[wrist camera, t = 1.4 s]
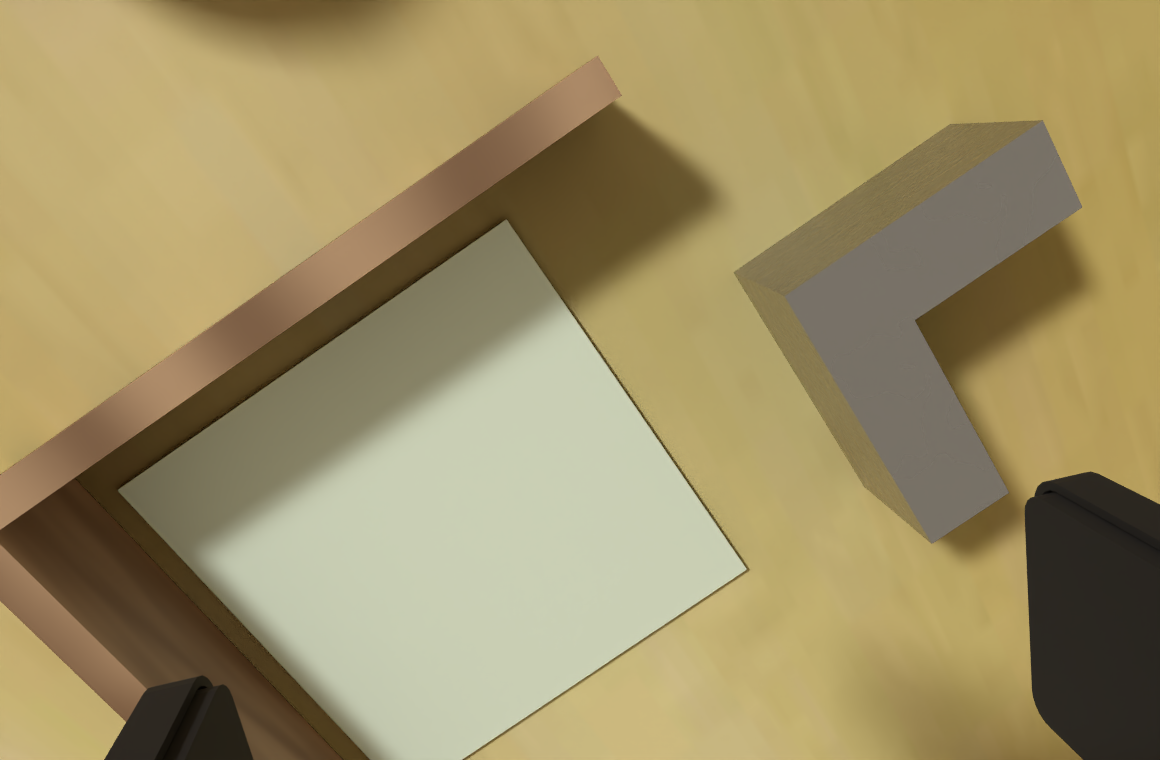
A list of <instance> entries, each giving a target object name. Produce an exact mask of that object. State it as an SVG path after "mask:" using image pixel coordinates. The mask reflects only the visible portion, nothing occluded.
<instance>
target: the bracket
mask: <svg viewBox="0 0 1160 760" xmlns="http://www.w3.org/2000/svg"><path fill="white" fill-rule="evenodd" d="M1080 208H1082V205H1081V203H1080V201H1079V199H1078V197H1077V194H1076V192H1075V190H1074V188H1073V186H1072V183H1071V181H1070V179H1069V177H1068V175H1067V173H1066V170H1065V168H1064V166H1063V164H1062V162H1061V159H1060V157H1059V155H1058V153H1057V151H1056V149H1055V146H1054V144H1053V142H1052V140H1051V138H1050V135H1049V133H1048V131H1047V129H1046V127H1045V124H1044V122H1043V120H1041V121H1018V122H994V123H971V124H950V125H949V126H947V127H946V128H944V129H943V130H941V131H940V132H938V133H937V134H935V135H934V136H932V137H931V138H930V139H928V140H927V141H925V142H924V143H922V144H921V145H919V146H918V147H916V148H915V149H913V150H912V151H911V152H909V153H908V154H906V155H905V156H903V157H902V158H900V159H899V160H897V161H896V162H894V163H893V164H892V165H890V166H889V167H887V168H886V169H884V170H883V171H881V172H880V173H878V174H877V175H875V176H874V177H873V178H871V179H870V180H868V181H867V182H865V183H864V184H862V185H861V186H859V187H858V188H856V189H855V190H854V191H852V192H851V193H849V194H848V195H846V196H845V197H843V198H842V199H840V200H839V201H837V202H836V203H835V204H833V205H832V206H830V207H829V208H827V209H826V210H824V211H823V212H821V213H820V214H818V215H817V216H816V217H814V218H813V219H811V220H810V221H808V222H807V223H805V224H804V225H802V226H801V227H799V228H798V229H797V230H795V231H794V232H792V233H791V234H789V235H788V236H786V237H785V238H783V239H782V240H780V241H779V242H778V243H776V244H775V245H773V246H772V247H770V248H769V249H767V250H766V251H764V252H763V253H761V254H760V255H759V256H757V257H756V258H754V259H753V260H751V261H750V262H748V263H747V264H745V265H744V266H743V267H741V268H740V269H738V270H737V271H735V272H734V274H735V275H736V277H737V279H738V280H739V282H740V284H741V285H742V287H743V289H744V290H745V292H746V293H747V295H748V297H749V298H750V300H751V302H752V303H753V305H754V307H755V308H756V310H757V312H758V313H759V315H760V316H761V318H762V320H763V321H764V323H765V325H766V326H767V328H768V330H769V331H770V333H771V334H772V336H773V338H774V339H775V341H776V343H777V344H778V346H779V348H780V349H781V351H782V353H783V354H784V356H785V357H786V359H787V361H788V362H789V364H790V366H791V367H792V369H793V371H794V372H795V374H796V375H797V377H798V379H799V380H800V382H801V384H802V385H803V387H804V389H805V390H806V392H807V394H808V395H809V397H810V398H811V400H812V402H813V403H814V405H815V407H816V408H817V410H818V412H819V413H820V415H821V416H822V418H823V420H824V421H825V423H826V425H827V426H828V428H829V430H830V431H831V433H832V435H833V436H834V438H835V439H836V441H837V443H838V444H839V446H840V448H841V449H842V451H843V453H844V454H845V456H846V457H847V459H848V461H849V462H850V464H851V466H852V467H853V469H854V471H855V472H856V474H857V475H858V477H859V479H860V480H861V482H862V484H863V485H864V487H865V488H867V489H868V490H869V491H870V492H871V493H872V494H874V495H875V496H876V497H877V498H878V499H880V500H881V501H882V502H883V503H884V504H885V505H887V506H888V507H889V508H890V509H891V510H893V511H894V512H895V513H896V514H897V515H898V516H900V517H901V518H902V519H903V520H904V521H905V522H907V523H908V524H909V525H910V526H911V527H913V528H914V529H915V530H916V531H917V532H918V533H920V534H921V535H922V536H923V537H924V538H926V539H927V540H928V541H929V542H930V543H931V544H932V543H934V542H935V541H937V540H938V539H940V538H941V537H943V536H944V535H946V534H947V533H949V532H950V531H952V530H953V529H955V528H956V527H958V526H959V525H961V524H962V523H964V522H966V521H967V520H969V519H970V518H972V517H973V516H975V515H976V514H978V513H979V512H981V511H982V510H984V509H985V508H987V507H988V506H990V505H991V504H993V503H994V502H996V501H997V500H999V499H1000V498H1002V497H1003V496H1005V495H1006V494H1008V493H1009V492H1008V490H1007V488H1006V486H1005V484H1004V483H1003V481H1002V479H1001V477H1000V475H999V473H998V472H997V470H996V468H995V466H994V464H993V462H992V461H991V459H990V457H989V455H988V453H987V451H986V450H985V448H984V446H983V444H982V442H981V440H980V439H979V437H978V435H977V433H976V431H975V430H974V428H973V426H972V424H971V422H970V420H969V419H968V417H967V415H966V413H965V411H964V409H963V408H962V406H961V404H960V402H959V400H958V398H957V397H956V395H955V393H954V391H953V389H952V388H951V386H950V384H949V382H948V380H947V378H946V377H945V375H944V373H943V371H942V369H941V367H940V366H939V364H938V362H937V360H936V358H935V356H934V355H933V353H932V351H931V349H930V347H929V346H928V344H927V342H926V340H925V338H924V336H923V335H922V333H921V331H920V329H919V327H918V325H917V324H916V322H915V320H916V319H917V318H919V317H920V316H922V315H923V314H925V313H926V312H928V311H929V310H931V309H932V308H934V307H935V306H937V305H938V304H940V303H941V302H943V301H944V300H946V299H947V298H949V297H950V296H952V295H953V294H954V293H956V292H957V291H959V290H960V289H962V288H963V287H965V286H966V285H968V284H969V283H971V282H972V281H974V280H975V279H977V278H978V277H980V276H981V275H983V274H984V273H986V272H987V271H989V270H990V269H992V268H993V267H995V266H996V265H997V264H999V263H1000V262H1002V261H1003V260H1005V259H1006V258H1008V257H1009V256H1011V255H1012V254H1014V253H1015V252H1017V251H1018V250H1020V249H1021V248H1023V247H1024V246H1026V245H1027V244H1029V243H1030V242H1032V241H1033V240H1035V239H1036V238H1037V237H1039V236H1040V235H1042V234H1043V233H1045V232H1046V231H1048V230H1049V229H1051V228H1052V227H1054V226H1055V225H1057V224H1058V223H1060V222H1061V221H1063V220H1064V219H1066V218H1067V217H1069V216H1070V215H1072V214H1073V213H1075V212H1076V211H1077V210H1079V209H1080Z"/></svg>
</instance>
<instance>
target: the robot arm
mask: <svg viewBox="0 0 1160 760" xmlns="http://www.w3.org/2000/svg"><path fill="white" fill-rule="evenodd" d="M1025 532H1026V555H1027V579H1028V603H1029V627H1030V651H1031V675H1032V692H1033V698H1034V701H1035V705H1036V707H1037V709H1038V711H1039V713H1040V715H1041V716H1042V718H1043V720H1044V721H1045V722H1046V723H1047V724H1048V726H1049V727H1050V728H1051V729H1052V730H1053V731H1054V732H1055V733H1056V734H1057V735H1059V736H1060V737H1061V738H1062V739H1063V740H1064V741H1065V742H1066V743H1067V744H1068V745H1069V746H1070V747H1071V748H1072V749H1073V750H1074V751H1075V752H1076V753H1077V754H1078V755H1079V756H1080V757H1081V758H1082V759H1083V760H1160V504H1158V503H1156V502H1154V501H1152V500H1150V499H1148V498H1146V497H1144V496H1142V495H1140V494H1138V493H1136V492H1134V491H1132V490H1130V489H1128V488H1126V487H1124V486H1122V485H1120V484H1118V483H1116V482H1114V481H1112V480H1110V479H1108V478H1106V477H1104V476H1102V475H1100V474H1097V473H1094V472H1086V473H1081V474H1077V475H1072V476H1068V477H1064V478H1059V479H1055V480H1051V481H1046V482H1042V483H1041V484H1040V485H1039V486H1038V487H1037V490H1036V492H1035V497H1032V498H1030V499H1029V500H1028V501H1027V503H1026V505H1025ZM104 760H254V759H253V756H252V753H251V750H250V747H249V744H248V741H247V738H246V735H245V732H244V729H243V726H242V723H241V720H240V717H239V714H238V711H237V708H236V705H235V702H234V700H233V697H232V694H231V692H230V690H229V689H228V687H227V686H226V685H223V684H222V685H218V686H213V685H212V683H211V682H210V680H209V679H208V678H207V677H205V676H203V675H202V676H197V677H193V678H189V679H184V680H180V681H175V682H171V683H167V684H162V685H158V686H154V687H150V688H148V689H147V690H146V691H145V692H144V693H143V695H142V696H141V698H140V700H139V702H138V703H137V705H136V707H135V708H134V710H133V712H132V713H131V715H130V717H129V719H128V720H127V722H126V724H125V725H124V727H123V729H122V731H121V732H120V734H119V736H118V737H117V739H116V741H115V742H114V744H113V746H112V748H111V749H110V751H109V753H108V754H107V756H106V758H105V759H104Z"/></svg>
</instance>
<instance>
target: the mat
mask: <svg viewBox="0 0 1160 760" xmlns="http://www.w3.org/2000/svg"><path fill="white" fill-rule="evenodd" d="M117 491H118V492H119V493H120V494H121V495H122V496H123V497H124V498H125V499H126V500H127V501H128V502H129V503H130V504H131V506H132V507H133V508H134V509H135V510H136V511H137V512H138V513H139V514H140V515H141V516H142V517H143V518H144V519H145V520H146V522H147V523H148V524H149V525H150V526H151V527H152V528H153V529H154V530H155V531H156V532H157V533H158V534H159V535H160V536H161V538H162V539H163V540H164V541H165V542H166V543H167V544H168V545H169V546H170V547H171V548H172V549H173V550H174V551H175V552H176V553H177V555H178V556H179V557H180V558H181V559H182V560H183V561H184V562H185V563H186V564H187V565H188V566H189V567H190V568H191V569H192V571H193V572H194V573H195V574H196V575H197V576H198V577H199V578H200V579H201V580H202V581H203V582H204V583H205V584H206V585H207V587H208V588H209V589H210V590H211V591H212V592H213V593H214V594H215V595H216V596H217V597H218V598H219V599H220V600H221V601H222V602H223V604H224V605H225V606H226V607H227V608H228V609H229V610H230V611H231V612H232V613H233V614H234V615H235V616H236V617H237V618H238V620H239V621H240V622H241V623H242V624H243V625H244V626H245V627H246V628H247V629H248V630H249V631H250V632H251V633H252V634H253V635H254V637H255V638H256V639H257V640H258V641H259V642H260V643H261V644H262V645H263V646H264V647H265V648H266V649H267V650H268V651H269V653H270V654H271V655H272V656H273V657H274V658H275V659H276V660H277V661H278V662H279V663H280V664H281V665H282V666H283V667H284V669H285V670H286V671H287V672H288V673H289V674H290V675H291V676H292V677H293V678H294V679H295V680H296V681H297V682H298V683H299V684H300V686H301V687H302V688H303V689H304V690H305V691H306V692H307V693H308V694H309V695H310V696H311V697H312V698H313V699H314V700H315V702H316V703H317V704H318V705H319V706H320V707H321V708H322V709H323V710H324V711H325V712H326V713H327V714H328V715H329V716H330V717H331V719H332V720H333V721H334V722H335V723H336V724H337V725H338V726H339V727H340V728H341V729H342V730H343V731H344V732H345V733H346V735H347V736H348V737H349V738H350V739H351V740H352V741H353V742H354V743H355V744H356V745H357V746H358V747H359V748H360V749H361V751H362V752H363V753H364V754H365V755H366V756H367V757H368V758H369V759H370V760H462V759H464V758H465V757H467V756H468V755H470V754H471V753H473V752H474V751H476V750H477V749H479V748H480V747H482V746H483V745H485V744H486V743H488V742H489V741H491V740H492V739H494V738H495V737H497V736H498V735H500V734H501V733H503V732H504V731H506V730H507V729H509V728H510V727H512V726H513V725H515V724H516V723H518V722H519V721H521V720H522V719H524V718H525V717H527V716H528V715H530V714H531V713H533V712H534V711H536V710H537V709H539V708H540V707H542V706H543V705H545V704H546V703H548V702H549V701H551V700H552V699H554V698H555V697H557V696H558V695H560V694H561V693H563V692H564V691H566V690H567V689H569V688H570V687H572V686H573V685H575V684H576V683H578V682H579V681H581V680H582V679H584V678H585V677H587V676H588V675H590V674H591V673H593V672H594V671H596V670H597V669H599V668H600V667H601V666H603V665H604V664H606V663H607V662H609V661H610V660H612V659H613V658H615V657H616V656H618V655H619V654H621V653H622V652H624V651H625V650H627V649H628V648H630V647H631V646H633V645H634V644H636V643H637V642H639V641H640V640H642V639H643V638H645V637H646V636H648V635H649V634H651V633H652V632H654V631H655V630H657V629H658V628H660V627H661V626H663V625H664V624H666V623H667V622H669V621H670V620H672V619H673V618H675V617H676V616H678V615H679V614H681V613H682V612H684V611H685V610H687V609H688V608H690V607H691V606H693V605H694V604H696V603H697V602H699V601H700V600H702V599H703V598H705V597H706V596H708V595H709V594H711V593H712V592H714V591H715V590H717V589H718V588H720V587H721V586H723V585H724V584H726V583H727V582H729V581H730V580H732V579H733V578H735V577H736V576H738V575H739V574H741V573H742V572H744V571H745V570H747V569H746V567H745V566H744V564H743V563H742V562H741V560H740V559H739V557H738V556H737V554H736V553H735V551H734V550H733V548H732V547H731V546H730V544H729V543H728V541H727V540H726V538H725V537H724V535H723V534H722V532H721V531H720V530H719V528H718V527H717V525H716V524H715V522H714V521H713V519H712V518H711V516H710V515H709V513H708V512H707V511H706V509H705V508H704V506H703V505H702V503H701V502H700V500H699V499H698V497H697V496H696V495H695V493H694V492H693V490H692V489H691V487H690V486H689V484H688V483H687V481H686V480H685V479H684V477H683V476H682V474H681V473H680V471H679V470H678V468H677V467H676V465H675V464H674V463H673V461H672V460H671V458H670V457H669V455H668V454H667V452H666V451H665V449H664V448H663V447H662V445H661V444H660V442H659V441H658V439H657V438H656V436H655V435H654V433H653V432H652V431H651V429H650V428H649V426H648V425H647V423H646V422H645V420H644V419H643V417H642V416H641V414H640V413H639V412H638V410H637V409H636V407H635V406H634V404H633V403H632V401H631V400H630V398H629V397H628V396H627V394H626V393H625V391H624V390H623V388H622V387H621V385H620V384H619V382H618V381H617V380H616V378H615V377H614V375H613V374H612V372H611V371H610V369H609V368H608V366H607V365H606V364H605V362H604V361H603V359H602V358H601V356H600V355H599V353H598V352H597V350H596V349H595V348H594V346H593V345H592V343H591V342H590V340H589V339H588V337H587V336H586V334H585V333H584V332H583V330H582V329H581V327H580V326H579V324H578V323H577V321H576V320H575V318H574V317H573V315H572V314H571V313H570V311H569V310H568V308H567V307H566V305H565V304H564V302H563V301H562V299H561V298H560V297H559V295H558V294H557V292H556V291H555V289H554V288H553V286H552V285H551V283H550V282H549V281H548V279H547V278H546V276H545V275H544V273H543V272H542V270H541V269H540V267H539V266H538V265H537V263H536V262H535V260H534V259H533V257H532V256H531V254H530V253H529V251H528V250H527V249H526V247H525V246H524V244H523V243H522V241H521V240H520V238H519V237H518V235H517V234H516V233H515V231H514V230H513V228H512V227H511V225H510V224H509V222H508V221H507V219H505V220H504V221H503V222H501V223H500V224H498V225H497V226H495V227H494V228H492V229H491V230H490V231H488V232H487V233H485V234H484V235H482V236H481V237H480V238H478V239H477V240H475V241H474V242H472V243H471V244H470V245H468V246H467V247H465V248H464V249H462V250H461V251H459V252H458V253H457V254H455V255H454V256H452V257H451V258H449V259H448V260H447V261H445V262H444V263H442V264H441V265H439V266H438V267H436V268H435V269H434V270H432V271H431V272H429V273H428V274H426V275H425V276H424V277H422V278H421V279H419V280H418V281H416V282H415V283H414V284H412V285H411V286H409V287H408V288H406V289H405V290H403V291H402V292H401V293H399V294H398V295H396V296H395V297H393V298H392V299H391V300H389V301H388V302H386V303H385V304H383V305H382V306H380V307H379V308H378V309H376V310H375V311H373V312H372V313H370V314H369V315H368V316H366V317H365V318H363V319H362V320H360V321H359V322H358V323H356V324H355V325H353V326H352V327H350V328H349V329H347V330H346V331H345V332H343V333H342V334H340V335H339V336H337V337H336V338H335V339H333V340H332V341H330V342H329V343H327V344H326V345H325V346H323V347H322V348H320V349H319V350H317V351H316V352H314V353H313V354H312V355H310V356H309V357H307V358H306V359H304V360H303V361H302V362H300V363H299V364H297V365H296V366H294V367H293V368H291V369H290V370H289V371H287V372H286V373H284V374H283V375H281V376H280V377H279V378H277V379H276V380H274V381H273V382H271V383H270V384H269V385H267V386H266V387H264V388H263V389H261V390H260V391H258V392H257V393H256V394H254V395H253V396H251V397H250V398H248V399H247V400H246V401H244V402H243V403H241V404H240V405H238V406H237V407H235V408H234V409H233V410H231V411H230V412H228V413H227V414H225V415H224V416H223V417H221V418H220V419H218V420H217V421H215V422H214V423H213V424H211V425H210V426H208V427H207V428H205V429H204V430H202V431H201V432H200V433H198V434H197V435H195V436H194V437H192V438H191V439H190V440H188V441H187V442H185V443H184V444H182V445H181V446H179V447H178V448H177V449H175V450H174V451H172V452H171V453H169V454H168V455H167V456H165V457H164V458H162V459H161V460H159V461H158V462H157V463H155V464H154V465H152V466H151V467H149V468H148V469H146V470H145V471H144V472H142V473H141V474H139V475H138V476H136V477H135V478H134V479H132V480H131V481H129V482H128V483H126V484H125V485H123V486H122V487H121V488H119V489H118V490H117Z"/></svg>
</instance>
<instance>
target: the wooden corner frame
mask: <svg viewBox="0 0 1160 760" xmlns="http://www.w3.org/2000/svg"><path fill="white" fill-rule="evenodd" d="M620 96H622V95H621V93H620V91H619V90H618V88H617V87H616V85H615V83H614V82H613V80H612V78H611V77H610V75H609V73H608V72H607V70H606V69H605V67H604V65H603V64H602V62H601V60H600V59H599V57H598V56H597V57H595V58H594V59H592V60H591V61H589V62H588V63H586V64H585V65H583V66H582V67H580V68H579V69H577V70H576V71H574V72H573V73H571V74H570V75H569V76H567V77H566V78H564V79H563V80H562V81H560V82H559V83H557V84H556V85H554V86H553V87H552V88H550V89H549V90H547V91H546V92H544V93H543V94H542V95H540V96H539V97H537V98H536V99H534V100H533V101H532V102H530V103H529V104H527V105H526V106H524V107H523V108H522V109H520V110H519V111H517V112H516V113H515V114H513V115H512V116H510V117H509V118H507V119H506V120H505V121H503V122H502V123H500V124H499V125H497V126H496V127H495V128H493V129H492V130H490V131H489V132H487V133H486V134H485V135H483V136H482V137H480V138H479V139H477V140H476V141H475V142H473V143H472V144H470V145H469V146H468V147H466V148H465V149H463V150H462V151H460V152H459V153H458V154H456V155H455V156H453V157H452V158H450V159H449V160H448V161H446V162H445V163H443V164H442V165H440V166H439V167H438V168H436V169H435V170H433V171H432V172H430V173H429V174H428V175H426V176H425V177H423V178H422V179H421V180H419V181H418V182H416V183H415V184H413V185H412V186H411V187H409V188H408V189H406V190H405V191H403V192H402V193H401V194H399V195H398V196H396V197H395V198H393V199H392V200H391V201H389V202H388V203H386V204H385V205H383V206H382V207H381V208H379V209H378V210H376V211H375V212H374V213H372V214H371V215H369V216H368V217H366V218H365V219H364V220H362V221H361V222H359V223H358V224H356V225H355V226H354V227H352V228H351V229H349V230H348V231H346V232H345V233H344V234H342V235H341V236H339V237H338V238H336V239H335V240H334V241H332V242H331V243H329V244H328V245H326V246H325V247H324V248H322V249H321V250H319V251H318V252H317V253H315V254H314V255H312V256H311V257H309V258H308V259H307V260H305V261H304V262H302V263H301V264H299V265H298V266H297V267H295V268H294V269H292V270H291V271H289V272H288V273H287V274H285V275H284V276H282V277H281V278H279V279H278V280H277V281H275V282H274V283H272V284H271V285H270V286H268V287H267V288H265V289H264V290H262V291H261V292H260V293H258V294H257V295H255V296H254V297H252V298H251V299H250V300H248V301H247V302H245V303H244V304H242V305H241V306H240V307H238V308H237V309H235V310H234V311H232V312H231V313H230V314H228V315H227V316H225V317H224V318H223V319H221V320H220V321H218V322H217V323H215V324H214V325H213V326H211V327H210V328H208V329H207V330H205V331H204V332H203V333H201V334H200V335H198V336H197V337H195V338H194V339H193V340H191V341H190V342H188V343H187V344H185V345H184V346H183V347H181V348H180V349H178V350H177V351H176V352H174V353H173V354H171V355H170V356H168V357H167V358H166V359H164V360H163V361H161V362H160V363H158V364H157V365H156V366H154V367H153V368H151V369H150V370H148V371H147V372H146V373H144V374H143V375H141V376H140V377H138V378H137V379H136V380H134V381H133V382H131V383H130V384H129V385H127V386H126V387H124V388H123V389H121V390H120V391H119V392H117V393H116V394H114V395H113V396H111V397H110V398H109V399H107V400H106V401H104V402H103V403H101V404H100V405H99V406H97V407H96V408H94V409H93V410H91V411H90V412H89V413H87V414H86V415H84V416H83V417H81V418H80V419H79V420H77V421H76V422H74V423H73V424H72V425H70V426H69V427H67V428H66V429H64V430H63V431H62V432H60V433H59V434H57V435H56V436H54V437H53V438H52V439H50V440H49V441H47V442H46V443H44V444H43V445H42V446H40V447H39V448H37V449H36V450H34V451H33V452H32V453H30V454H29V455H27V456H26V457H25V458H23V459H22V460H20V461H19V462H17V463H16V464H15V465H13V466H12V467H10V468H9V469H7V470H6V471H5V472H3V473H2V474H0V601H1V602H2V603H3V604H4V605H5V606H6V607H7V608H8V609H9V610H10V611H11V612H12V613H13V614H14V615H15V616H17V617H18V618H19V619H20V620H21V621H22V622H23V623H24V624H25V625H26V626H27V627H28V628H29V629H30V630H31V631H32V632H33V633H34V634H35V635H36V636H37V637H38V638H39V639H40V640H42V641H43V642H44V643H45V644H46V645H47V646H48V647H49V648H50V649H51V650H52V651H53V652H54V653H55V654H56V655H57V656H58V657H59V658H60V659H61V660H62V661H63V662H64V663H65V664H66V665H68V666H69V667H70V668H71V669H72V670H73V671H74V672H75V673H76V674H77V675H78V676H79V677H80V678H81V679H82V680H83V681H84V682H85V683H86V684H87V685H88V686H89V687H90V688H91V689H93V690H94V691H95V692H96V693H97V694H98V695H99V696H100V697H101V698H102V699H103V700H104V701H105V702H106V703H107V704H108V705H109V706H110V707H111V708H112V709H113V710H114V711H115V712H116V713H117V714H119V715H120V716H121V717H122V718H123V719H124V720H125V721H126V722H127V720H128V719H129V717H130V715H131V713H132V712H133V710H134V708H135V707H136V705H137V703H138V702H139V700H140V698H141V696H142V695H143V693H144V692H145V691H146V690H147V689H148V688H150V687H154V686H158V685H162V684H167V683H171V682H175V681H180V680H184V679H189V678H193V677H197V676H202V675H203V676H205V677H207V678H208V679H209V680H210V682H211V683H212V685H213V686H218V685H222V684H223V685H226V686H227V687H228V689H229V690H230V692H231V694H232V697H233V700H234V702H235V705H236V708H237V711H238V714H239V717H240V720H241V723H242V726H243V729H244V732H245V735H246V738H247V741H248V744H249V747H250V750H251V753H252V756H253V759H254V760H343V759H342V758H341V757H340V756H339V755H338V754H337V753H336V752H335V751H334V750H333V749H332V748H331V747H330V746H329V745H328V744H327V743H326V742H325V740H324V739H323V738H322V737H321V736H320V735H319V734H318V733H317V732H316V731H315V730H314V729H313V728H312V727H311V726H310V725H309V724H308V723H307V722H306V721H305V719H304V718H303V717H302V716H301V715H300V714H299V713H298V712H297V711H296V710H295V709H294V708H293V707H292V706H291V705H290V704H289V703H288V702H287V701H286V700H285V698H284V697H283V696H282V695H281V694H280V693H279V692H278V691H277V690H276V689H275V688H274V687H273V686H272V685H271V684H270V683H269V682H268V681H267V680H266V679H265V678H264V676H263V675H262V674H261V673H260V672H259V671H258V670H257V669H256V668H255V667H254V666H253V665H252V664H251V663H250V662H249V661H248V660H247V659H246V658H245V657H244V655H243V654H242V653H241V652H240V651H239V650H238V649H237V648H236V647H235V646H234V645H233V644H232V643H231V642H230V641H229V640H228V639H227V638H226V637H225V636H224V634H223V633H222V632H221V631H220V630H219V629H218V628H217V627H216V626H215V625H214V624H213V623H212V622H211V621H210V620H209V619H208V618H207V617H206V616H205V615H204V613H203V612H202V611H201V610H200V609H199V608H198V607H197V606H196V605H195V604H194V603H193V602H192V601H191V600H190V599H189V598H188V597H187V596H186V595H185V594H184V592H183V591H182V590H181V589H180V588H179V587H178V586H177V585H176V584H175V583H174V582H173V581H172V580H171V579H170V578H169V577H168V576H167V575H166V574H165V573H164V571H163V570H162V569H161V568H160V567H159V566H158V565H157V564H156V563H155V562H154V561H153V560H152V559H151V558H150V557H149V556H148V555H147V554H146V553H145V552H144V550H143V549H142V548H141V547H140V546H139V545H138V544H137V543H136V542H135V541H134V540H133V539H132V538H131V537H130V536H129V535H128V534H127V533H126V532H125V531H124V529H123V528H122V527H121V526H120V525H119V524H118V523H117V522H116V521H115V520H114V519H113V518H112V517H111V516H110V515H109V514H108V513H107V512H106V511H105V510H104V508H103V507H102V506H101V505H100V504H99V503H98V502H97V501H96V500H95V499H94V498H93V497H92V496H91V495H90V494H89V493H88V492H87V491H86V490H85V489H84V487H83V486H82V485H81V484H80V483H79V482H78V481H77V480H76V479H75V477H76V476H78V475H79V474H81V473H82V472H84V471H85V470H86V469H88V468H89V467H91V466H92V465H94V464H95V463H96V462H98V461H99V460H101V459H102V458H104V457H105V456H106V455H108V454H109V453H111V452H112V451H114V450H115V449H116V448H118V447H119V446H121V445H122V444H124V443H125V442H126V441H128V440H129V439H131V438H132V437H134V436H135V435H136V434H138V433H139V432H141V431H142V430H144V429H145V428H147V427H148V426H149V425H151V424H152V423H154V422H155V421H157V420H158V419H159V418H161V417H162V416H164V415H165V414H167V413H168V412H169V411H171V410H172V409H174V408H175V407H177V406H178V405H179V404H181V403H182V402H184V401H185V400H187V399H188V398H189V397H191V396H192V395H194V394H195V393H197V392H198V391H199V390H201V389H202V388H204V387H205V386H207V385H208V384H209V383H211V382H212V381H214V380H215V379H217V378H218V377H219V376H221V375H222V374H224V373H225V372H227V371H228V370H230V369H231V368H232V367H234V366H235V365H237V364H238V363H240V362H241V361H242V360H244V359H245V358H247V357H248V356H250V355H251V354H252V353H254V352H255V351H257V350H258V349H260V348H261V347H262V346H264V345H265V344H267V343H268V342H270V341H271V340H272V339H274V338H275V337H277V336H278V335H280V334H281V333H282V332H284V331H285V330H287V329H288V328H290V327H291V326H292V325H294V324H295V323H297V322H298V321H300V320H301V319H302V318H304V317H305V316H307V315H308V314H310V313H311V312H312V311H314V310H315V309H317V308H318V307H320V306H321V305H323V304H324V303H325V302H327V301H328V300H330V299H331V298H333V297H334V296H335V295H337V294H338V293H340V292H341V291H343V290H344V289H345V288H347V287H348V286H350V285H351V284H353V283H354V282H355V281H357V280H358V279H360V278H361V277H363V276H364V275H365V274H367V273H368V272H370V271H371V270H373V269H374V268H375V267H377V266H378V265H380V264H381V263H383V262H384V261H385V260H387V259H388V258H390V257H391V256H393V255H394V254H395V253H397V252H398V251H400V250H401V249H403V248H404V247H406V246H407V245H408V244H410V243H411V242H413V241H414V240H416V239H417V238H418V237H420V236H421V235H423V234H424V233H426V232H427V231H428V230H430V229H431V228H433V227H434V226H436V225H437V224H438V223H440V222H441V221H443V220H444V219H446V218H447V217H448V216H450V215H451V214H453V213H454V212H456V211H457V210H458V209H460V208H461V207H463V206H464V205H466V204H467V203H468V202H470V201H471V200H473V199H474V198H476V197H477V196H478V195H480V194H481V193H483V192H484V191H486V190H487V189H488V188H490V187H491V186H493V185H494V184H496V183H497V182H499V181H500V180H501V179H503V178H504V177H506V176H507V175H509V174H510V173H511V172H513V171H514V170H516V169H517V168H519V167H520V166H521V165H523V164H524V163H526V162H527V161H529V160H530V159H531V158H533V157H534V156H536V155H537V154H539V153H540V152H541V151H543V150H544V149H546V148H547V147H549V146H550V145H551V144H553V143H554V142H556V141H557V140H559V139H560V138H561V137H563V136H564V135H566V134H567V133H569V132H570V131H571V130H573V129H574V128H576V127H577V126H579V125H580V124H582V123H583V122H584V121H586V120H587V119H589V118H590V117H592V116H593V115H594V114H596V113H597V112H599V111H600V110H602V109H603V108H604V107H606V106H607V105H609V104H610V103H612V102H613V101H614V100H616V99H617V98H619V97H620Z"/></svg>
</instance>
